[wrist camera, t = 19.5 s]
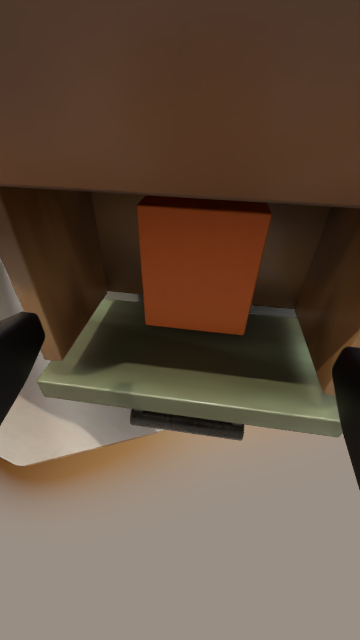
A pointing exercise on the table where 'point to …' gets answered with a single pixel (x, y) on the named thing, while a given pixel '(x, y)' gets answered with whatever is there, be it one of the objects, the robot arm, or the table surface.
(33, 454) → the table surface
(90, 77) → the cabinet
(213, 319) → the orange box
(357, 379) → the robot arm
